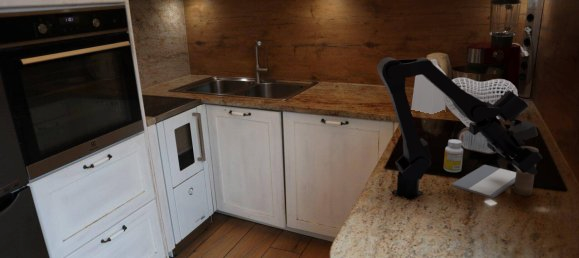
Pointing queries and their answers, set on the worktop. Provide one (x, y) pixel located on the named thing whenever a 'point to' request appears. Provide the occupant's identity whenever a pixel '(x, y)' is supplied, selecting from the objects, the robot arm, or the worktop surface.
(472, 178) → the slate-grey panel
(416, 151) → the robot arm
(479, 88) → the heart
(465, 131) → the tin
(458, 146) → the supplement bottle
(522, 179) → the beige tapered cylinder
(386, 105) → the worktop surface
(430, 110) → the milk
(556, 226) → the worktop surface
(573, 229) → the worktop surface
